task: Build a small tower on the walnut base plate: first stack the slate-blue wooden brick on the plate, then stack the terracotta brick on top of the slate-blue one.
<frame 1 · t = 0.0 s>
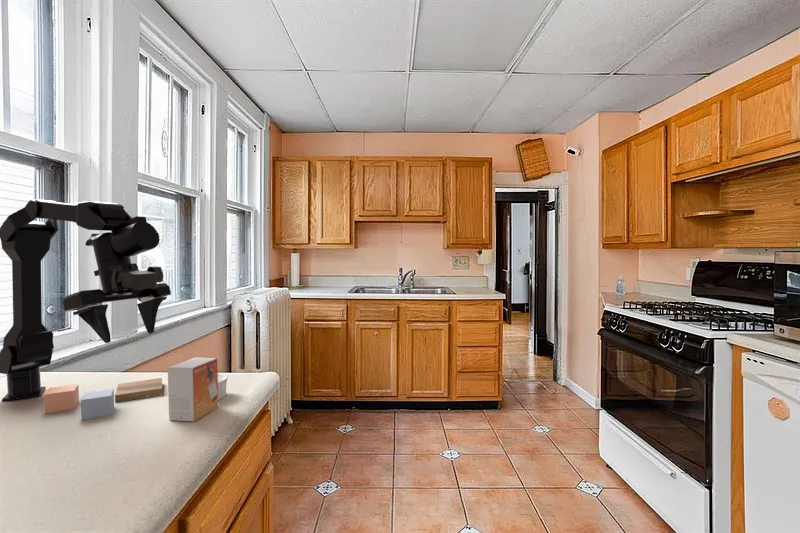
hand: (130, 337, 85), 15 cm above the countertop, tool pointing down, fingers open, 9 cm apart
ramekin: (206, 399, 95), on the countertop
base plate: (140, 392, 99), on the countertop
terracotta brick: (62, 407, 90), on the countertop
slate brick: (98, 413, 87), on the countertop
small box: (194, 414, 86), on the countertop
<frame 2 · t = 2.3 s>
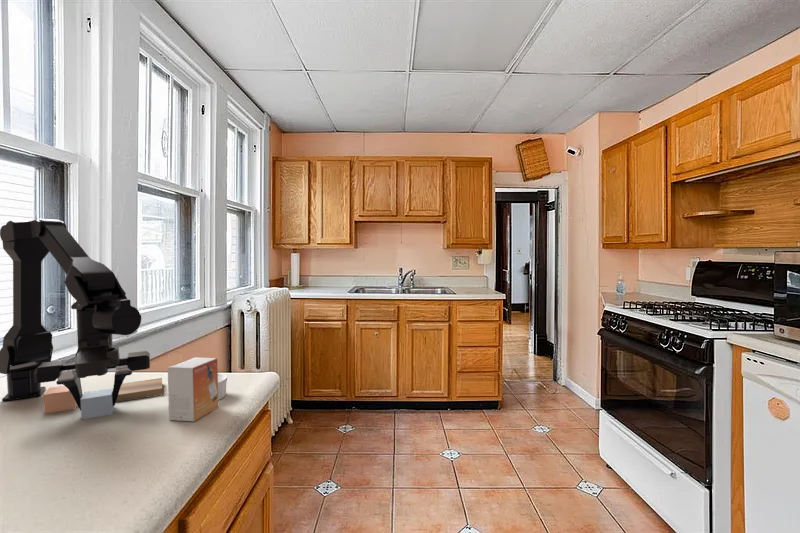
hand: (98, 407, 87), 1 cm above the countertop, tool pointing down, fingers closed on slate brick, 5 cm apart
slate brick: (98, 412, 87), on the countertop, touching gripper
everything else where it was.
when the fingers open (3 cm above the countertop, at t = 6.6 s): slate brick stays where it is, resting on base plate.
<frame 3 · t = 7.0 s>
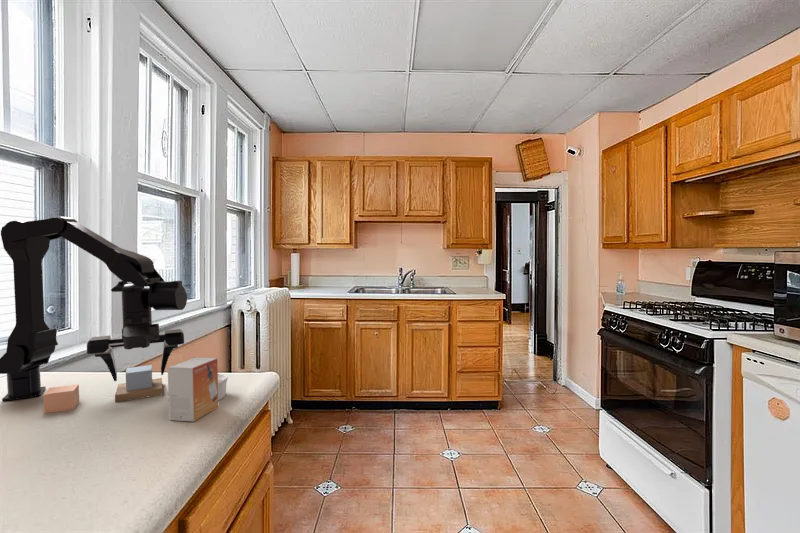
hand: (139, 377, 99), 3 cm above the countertop, tool pointing down, fingers open, 9 cm apart
slate brick: (139, 386, 99), point 1 cm above the countertop, touching base plate
everything else where it was.
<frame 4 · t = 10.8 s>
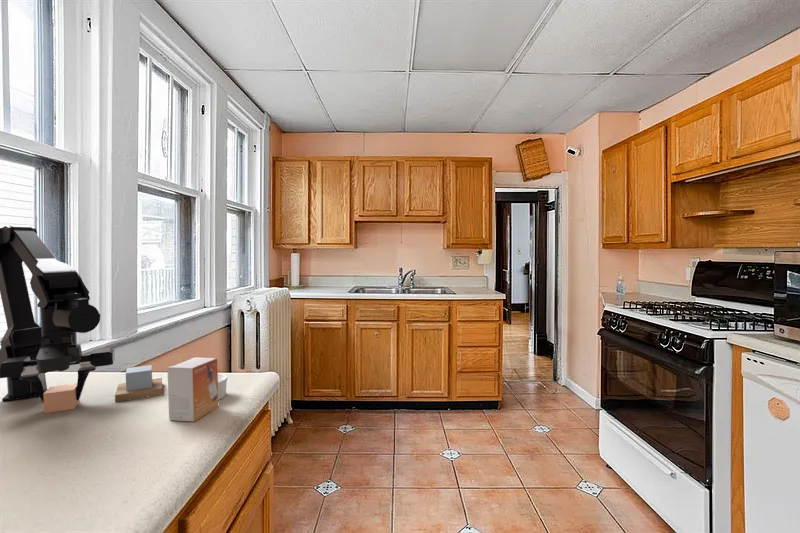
hand: (62, 402, 90), 1 cm above the countertop, tool pointing down, fingers closed on terracotta brick, 5 cm apart
terracotta brick: (62, 406, 90), on the countertop, touching gripper
everything else where it was.
when the fingers open (7 cm above the countertop, at t = 14.4 s): terracotta brick stays where it is, resting on slate brick.
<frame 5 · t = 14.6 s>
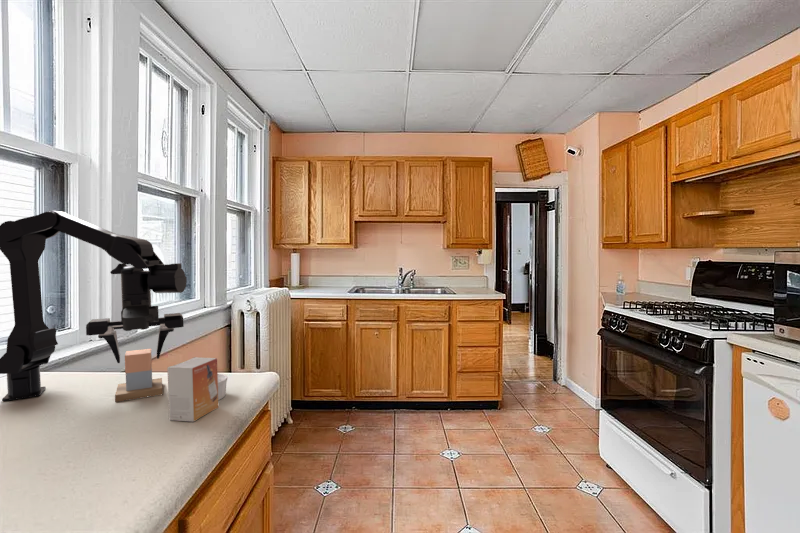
hand: (138, 360, 99), 7 cm above the countertop, tool pointing down, fingers open, 7 cm apart
terracotta brick: (139, 369, 99), point 5 cm above the countertop, touching slate brick
slate brick: (139, 386, 99), point 1 cm above the countertop, touching base plate, terracotta brick
everything else where it was.
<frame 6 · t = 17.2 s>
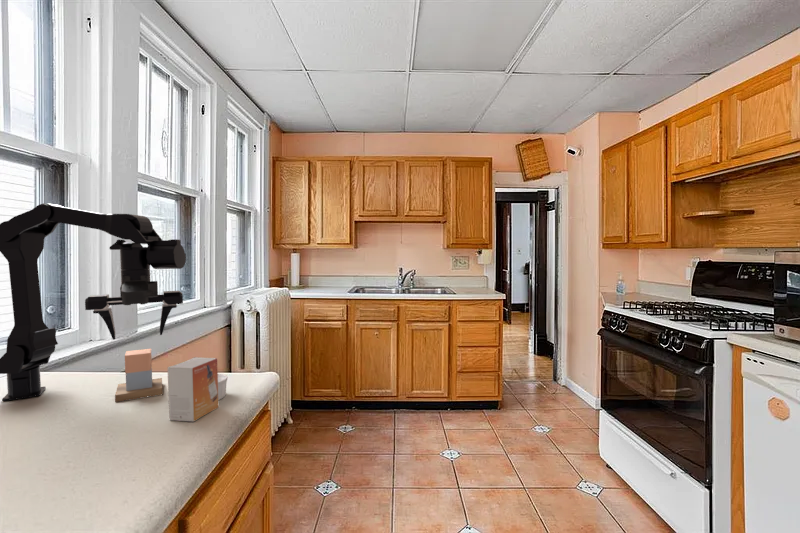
hand: (138, 336, 98), 13 cm above the countertop, tool pointing down, fingers open, 9 cm apart
nothing on the countertop moved.
at the end: slate brick inside the target area on the base plate (0.0 cm from its centre), point 1.5 cm above the base plate's base; terracotta brick 0.0 cm off-centre on the slate brick, point 4.0 cm above the slate brick's base; terracotta brick tilted 0° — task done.
